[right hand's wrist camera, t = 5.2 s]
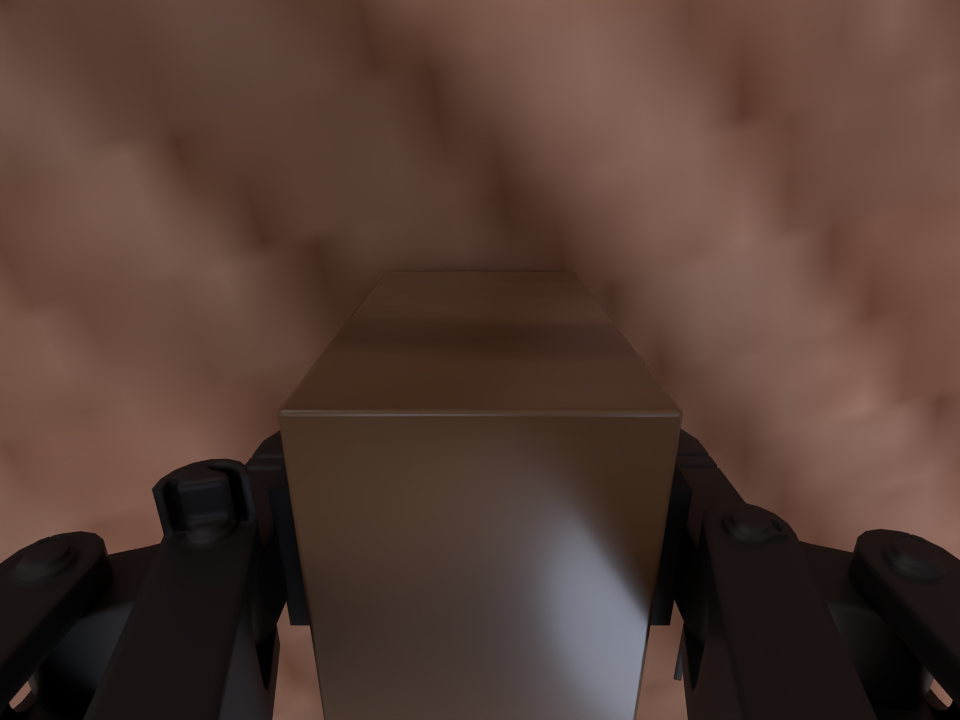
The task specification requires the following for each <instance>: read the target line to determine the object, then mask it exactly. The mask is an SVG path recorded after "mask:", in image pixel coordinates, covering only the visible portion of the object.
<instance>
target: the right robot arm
mask: <svg viewBox="0 0 960 720" xmlns="http://www.w3.org/2000/svg"><path fill="white" fill-rule="evenodd" d="M152 491H153V495H154V498H155V502H156V506H157V510H158V514H159V517H160V521H161V525H162V529H163V533H164V537H163V539H162V541H161V543H160V544H156V545H152V546H148V547H144V548H139V549H134V550H129V551H124V552H119V553H115V554H110V555H108V553H107V550H106V546H105V543H104V540H103V539H102V538H101V537H99V536H98V535H97V534H95V533H89V532H82V531H79V532H71V533H63V534H58V535H54V536H52V537H47V538H44V539H41V540H39V541H37V542H35V543H33V544H31V545H29V546H27V547H25V548H23V549H21V550H19V551H17V552H16V553H15V554H13V555H12V556H10V557H9V558H7V559H6V560H5V561H3V562H2V563H1V564H0V720H272V717H273V708H274V699H275V689H276V680H277V670H278V661H279V652H280V642H279V635H278V630H277V622H278V619H279V617H280V615H281V612H282V610H283V608H284V605H285V603H286V601H287V607H288V613H289V619H290V624H291V625H310V622H309V616H308V609H307V603H306V596H305V590H304V583H303V576H302V570H301V563H300V557H299V550H298V544H297V537H296V531H295V524H294V517H293V511H292V504H291V498H290V491H289V485H288V478H287V472H286V465H285V459H284V452H283V445H282V439H281V432H280V431H278V432H277V433H275V434H273V435H272V436H270V437H269V438H267V439H266V440H264V441H263V442H262V443H261V445H260V446H259V447H258V449H257V450H256V451H255V453H254V454H253V457H252V458H250V459H249V461H248V462H247V463H246V465H244V464H242V463H241V462H239V461H235V460H230V459H210V460H205V461H200V462H195V463H192V464H189V465H186V466H184V467H181V468H179V469H176V470H174V471H173V472H171V473H169V474H168V475H166V476H165V477H163V478H161V479H160V480H159V482H158V483H157V484H156V485H155V486H154V487H153V488H152ZM674 600H675V602H676V604H677V607H678V609H679V611H680V613H681V616H682V618H683V620H684V624H683V630H682V635H681V641H680V646H679V651H678V657H677V662H676V668H675V674H674V679H675V680H680V681H681V677H682V672H683V678H684V688H685V697H686V707H687V716H688V720H960V560H959V559H957V558H956V557H955V556H953V555H952V554H950V553H949V552H947V551H946V550H945V549H943V548H941V547H939V546H937V545H935V544H933V543H931V542H929V541H927V540H925V539H923V538H921V537H918V536H915V535H913V534H912V535H910V534H909V533H905V532H900V531H893V530H884V529H877V530H870V531H865V532H864V533H863V534H862V535H860V536H859V537H858V538H857V542H856V545H855V548H854V551H853V553H852V552H847V551H842V550H838V549H833V548H828V547H823V546H818V545H813V544H809V543H806V542H802V541H799V540H798V538H797V536H796V534H795V532H794V531H793V530H792V528H791V527H790V526H789V524H788V523H786V522H785V521H784V520H782V519H781V518H780V517H778V516H777V515H775V514H774V513H772V512H770V511H767V510H765V509H763V508H761V507H758V506H755V505H751V504H746V503H745V502H744V500H743V499H742V498H741V496H740V495H739V494H738V492H737V491H736V490H735V488H734V487H733V486H732V485H731V483H730V482H729V481H728V479H727V478H726V477H725V475H724V474H723V473H722V471H721V470H720V469H719V468H717V465H716V463H715V462H714V461H713V459H712V458H711V457H710V456H708V453H707V451H706V450H705V449H704V447H703V446H702V445H701V443H700V442H699V441H698V439H696V438H694V437H693V436H691V435H690V434H688V433H687V432H685V431H684V430H682V429H680V434H679V441H678V448H677V454H676V461H675V467H674V474H673V480H672V487H671V493H670V500H669V506H668V513H667V519H666V526H665V532H664V539H663V545H662V552H661V558H660V565H659V572H658V578H657V585H656V591H655V598H654V604H653V611H652V617H651V624H650V625H670V621H671V615H672V609H673V603H674ZM934 678H935V680H936V681H937V682H938V683H939V684H940V686H941V687H942V688H943V689H944V690H945V691H946V693H947V694H948V695H949V696H950V697H951V698H952V700H953V701H952V704H951V705H950V707H947V706H946V705H945V704H944V703H943V702H941V701H940V700H939V699H938V697H937V696H936V695H935V694H934V692H933V691H932V690H931V689H930V686H931V684H932V682H933V679H934ZM27 681H28V683H29V685H30V687H31V691H30V692H29V694H28V695H27V696H26V697H25V699H24V700H23V701H22V702H21V703H20V704H19V705H17V706H16V707H15V708H14V709H12V708H11V707H10V705H9V702H10V701H11V700H12V698H13V697H14V696H15V695H16V694H17V692H18V691H19V690H20V689H21V688H22V687H23V685H24V684H25V683H26V682H27Z"/></svg>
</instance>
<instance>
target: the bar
mask: <svg viewBox="0 0 960 720" xmlns="http://www.w3.org/2000/svg"><path fill="white" fill-rule="evenodd" d="M682 415H683V414H682V411H681V409H680V408H679V406H678V405H677V404H676V402H675V401H674V400H673V399H672V397H671V396H670V395H669V393H668V392H667V391H666V390H665V388H664V387H663V386H662V384H661V383H660V382H659V381H658V379H657V378H656V377H655V375H654V374H653V373H652V372H651V370H650V369H649V368H648V366H647V365H646V364H645V363H644V361H643V360H642V359H641V357H640V356H639V355H638V354H637V352H636V351H635V350H634V348H633V347H632V346H631V345H630V343H629V342H628V341H627V339H626V338H625V337H624V336H623V334H622V333H621V332H620V330H619V329H618V328H617V327H616V325H615V324H614V323H613V322H612V320H611V319H610V318H609V316H608V315H607V314H606V313H605V311H604V310H603V309H602V307H601V306H600V305H599V304H598V302H597V301H596V300H595V298H594V297H593V296H592V295H591V293H590V292H589V291H588V289H587V288H586V287H585V286H584V284H583V283H582V282H581V280H580V279H579V278H578V277H577V275H576V274H575V273H574V272H572V271H388V272H386V273H385V274H384V275H383V277H382V278H381V279H380V281H379V282H378V283H377V284H376V286H375V287H374V288H373V290H372V291H371V292H370V293H369V295H368V296H367V297H366V299H365V300H364V301H363V302H362V304H361V305H360V306H359V308H358V309H357V310H356V311H355V313H354V314H353V315H352V317H351V318H350V319H349V320H348V322H347V323H346V324H345V326H344V327H343V328H342V329H341V331H340V332H339V333H338V335H337V336H336V337H335V338H334V340H333V341H332V342H331V344H330V345H329V346H328V347H327V349H326V350H325V351H324V353H323V354H322V355H321V356H320V358H319V359H318V360H317V362H316V363H315V364H314V365H313V367H312V368H311V369H310V371H309V372H308V373H307V374H306V376H305V377H304V378H303V380H302V381H301V382H300V383H299V385H298V386H297V387H296V389H295V390H294V391H293V392H292V394H291V395H290V396H289V398H288V399H287V400H286V401H285V403H284V404H283V405H282V407H281V408H280V409H279V412H278V419H279V426H280V432H281V439H282V445H283V452H284V459H285V465H286V472H287V478H288V485H289V491H290V498H291V504H292V511H293V517H294V524H295V531H296V537H297V544H298V550H299V557H300V563H301V570H302V576H303V583H304V590H305V596H306V603H307V609H308V616H309V622H310V629H311V635H312V642H313V648H314V655H315V662H316V668H317V675H318V681H319V688H320V694H321V701H322V707H323V714H324V720H636V715H637V709H638V702H639V696H640V689H641V682H642V676H643V669H644V663H645V656H646V650H647V643H648V637H649V630H650V624H651V617H652V611H653V604H654V598H655V591H656V585H657V578H658V572H659V565H660V558H661V552H662V545H663V539H664V532H665V526H666V519H667V513H668V506H669V500H670V493H671V487H672V480H673V474H674V467H675V461H676V454H677V448H678V441H679V434H680V428H681V421H682Z"/></svg>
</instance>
